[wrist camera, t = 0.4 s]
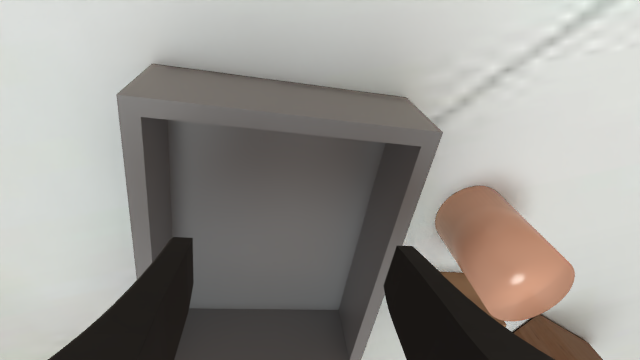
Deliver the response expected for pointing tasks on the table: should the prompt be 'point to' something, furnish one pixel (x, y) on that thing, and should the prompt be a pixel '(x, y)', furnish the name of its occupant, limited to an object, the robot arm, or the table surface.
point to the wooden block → (555, 340)
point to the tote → (272, 205)
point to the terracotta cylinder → (502, 255)
